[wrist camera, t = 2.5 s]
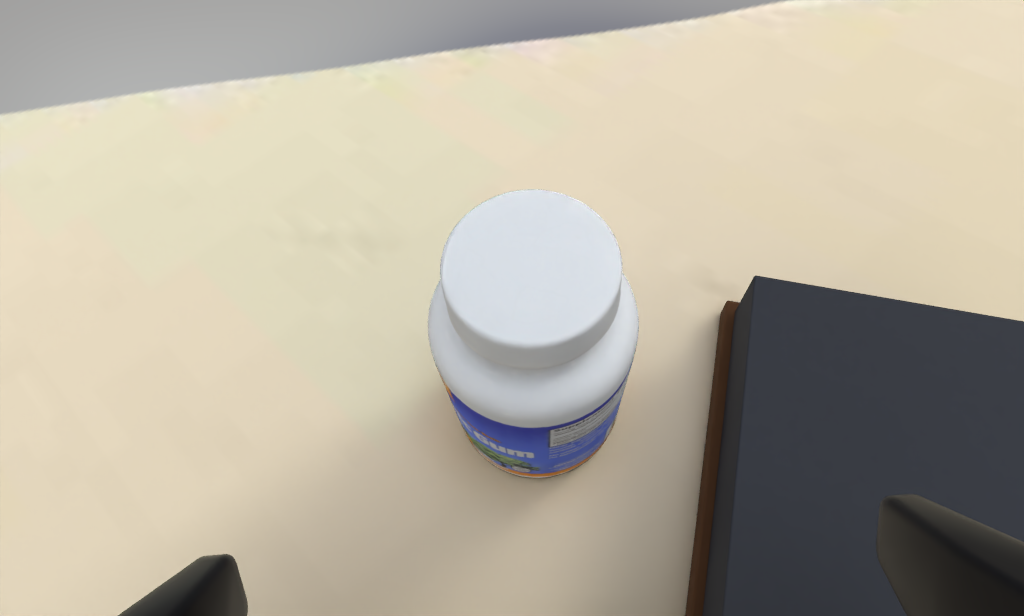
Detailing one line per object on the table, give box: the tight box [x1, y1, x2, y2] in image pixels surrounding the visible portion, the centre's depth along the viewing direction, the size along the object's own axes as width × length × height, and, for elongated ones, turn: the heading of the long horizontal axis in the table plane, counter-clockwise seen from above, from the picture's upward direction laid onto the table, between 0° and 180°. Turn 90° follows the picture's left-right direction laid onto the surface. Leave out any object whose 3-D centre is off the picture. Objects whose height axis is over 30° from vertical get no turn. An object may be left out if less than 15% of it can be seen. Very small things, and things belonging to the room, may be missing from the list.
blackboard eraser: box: [685, 276, 1024, 616], centre depth 18 cm, size 18×9×4 cm, turn 166°
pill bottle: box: [428, 189, 639, 478], centre depth 18 cm, size 5×5×10 cm
